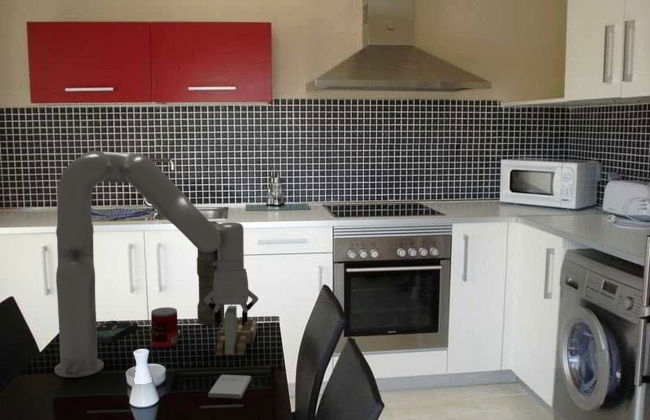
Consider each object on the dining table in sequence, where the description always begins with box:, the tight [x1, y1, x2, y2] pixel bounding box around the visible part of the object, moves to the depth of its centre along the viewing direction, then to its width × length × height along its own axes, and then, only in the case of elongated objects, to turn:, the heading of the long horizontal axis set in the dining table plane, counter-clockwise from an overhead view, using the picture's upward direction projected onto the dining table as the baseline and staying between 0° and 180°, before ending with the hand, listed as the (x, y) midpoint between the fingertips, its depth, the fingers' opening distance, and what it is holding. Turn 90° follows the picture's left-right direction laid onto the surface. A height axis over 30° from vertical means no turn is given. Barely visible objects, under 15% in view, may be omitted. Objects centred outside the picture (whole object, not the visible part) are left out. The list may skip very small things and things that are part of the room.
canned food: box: [150, 306, 179, 349], centre depth 196 cm, size 8×8×11 cm
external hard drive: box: [207, 374, 252, 400], centre depth 165 cm, size 2×8×12 cm
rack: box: [216, 318, 258, 345], centre depth 204 cm, size 14×11×4 cm
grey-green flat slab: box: [224, 305, 238, 354], centre depth 191 cm, size 9×2×12 cm, turn 2°
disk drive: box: [96, 320, 139, 344], centre depth 208 cm, size 10×3×15 cm
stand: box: [215, 336, 247, 356], centre depth 191 cm, size 10×8×4 cm
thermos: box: [196, 221, 225, 326], centre depth 217 cm, size 9×12×35 cm
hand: (231, 324), depth 190 cm, fingers open, 6 cm apart
